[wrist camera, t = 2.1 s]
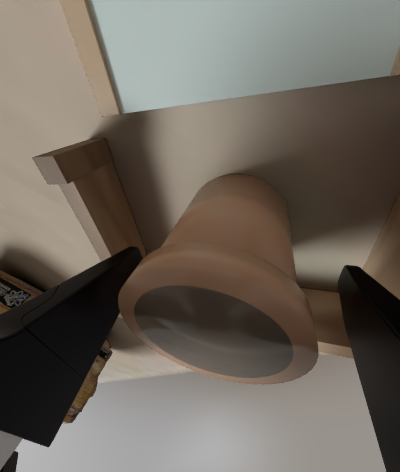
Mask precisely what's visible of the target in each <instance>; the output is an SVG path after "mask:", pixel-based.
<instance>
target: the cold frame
mask: <svg viewBox="0 0 400 472" xmlns="http://www.w3.org/2000/svg"><path fill="white" fill-rule="evenodd" d="M32 159H33V160H34V162H35V164H36V165H37V167H38V169H39V170H40V172H41V174H42V175H43V177H44V179H45V180H46V182H47V184H58V185H59V186H60V188H61V190H62V192H63V194H64V195H65V197H66V199H67V201H68V202H69V204H70V206H71V208H72V210H73V211H74V213H75V215H76V217H77V219H78V220H79V222H80V224H81V226H82V227H83V229H84V231H85V233H86V235H87V236H88V238H89V240H90V242H91V244H92V245H93V247H94V249H95V251H96V252H97V254H98V256H99V258H100V260H101V261H104V260H105V259H107V258H109V257H111V256H113V255H115V254H117V253H118V252H120V251H122V250H124V249H126V248H128V247H130V246H135V247H138V248H139V250H140V252H141V255H142V257H143V258H144V257H146V256H147V254H146V251H145V248H144V246H143V243H142V240H141V237H140V235H139V232H138V229H137V227H136V224H135V221H134V219H133V216H132V213H131V211H130V208H129V205H128V202H127V200H126V197H125V194H124V192H123V189H122V186H121V184H120V181H119V178H118V176H117V173H116V170H115V168H114V165H113V162H112V161H113V158H112V155H111V153H110V150H109V147H108V145H107V142H106V139H105V138H101V139H92V140H86V141H83V142H79V143H76V144H73V145H70V146H67V147H64V148H61V149H57V150H54V151H51V152H48V153H45V154H42V155H39V156H36V157H32ZM363 270H364V271H365V272H366V273H367V274H369V275H370V276H371V277H372V278H374V279H375V280H376V281H377V282H378V283H380V284H381V285H382V286H383V287H385V288H386V289H387V290H388V291H390V292H391V293H392V294H393V295H395V296H396V297H397V298H398V299H399V300H400V194H399V196H398V198H397V200H396V202H395V204H394V206H393V208H392V210H391V212H390V214H389V216H388V218H387V220H386V223H385V225H384V227H383V229H382V231H381V233H380V235H379V237H378V239H377V241H376V243H375V245H374V247H373V250H372V252H371V254H370V256H369V258H368V260H367V262H366V264H365V266H364V268H363ZM300 289H301V290H302V291H303V293H304V294H305V296H306V298H307V299H308V301H309V303H310V307H311V310H312V315H313V320H314V326H315V332H316V337H317V343H318V351H319V352H323V353H328V354H334V355H338V356H343V357H348V358H353V359H354V357H353V353H352V350H351V347H350V343H349V340H348V336H347V333H346V329H345V325H344V321H343V315H342V308H341V302H340V295H339V293H337V292H329V291H321V290H313V289H305V288H300ZM118 318H123V317H122V315H121V313H120V314H119V316H118Z"/></svg>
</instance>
